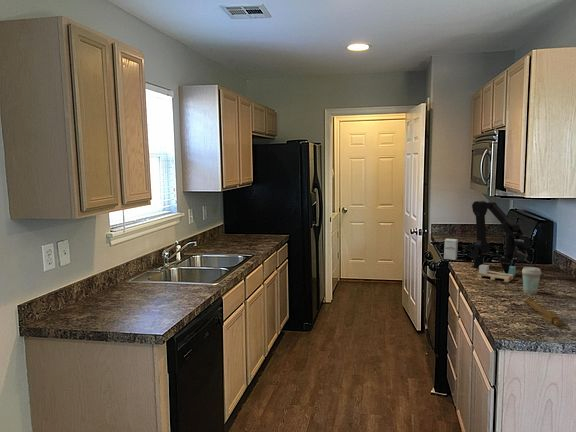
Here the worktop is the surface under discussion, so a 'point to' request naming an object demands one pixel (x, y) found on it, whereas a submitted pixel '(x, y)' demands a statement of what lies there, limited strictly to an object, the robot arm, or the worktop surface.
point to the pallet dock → (497, 275)
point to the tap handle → (545, 313)
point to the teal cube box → (511, 270)
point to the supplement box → (450, 249)
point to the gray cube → (484, 269)
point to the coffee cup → (531, 279)
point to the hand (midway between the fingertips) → (509, 273)
